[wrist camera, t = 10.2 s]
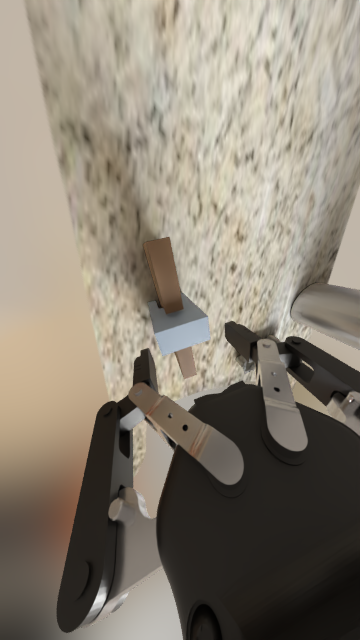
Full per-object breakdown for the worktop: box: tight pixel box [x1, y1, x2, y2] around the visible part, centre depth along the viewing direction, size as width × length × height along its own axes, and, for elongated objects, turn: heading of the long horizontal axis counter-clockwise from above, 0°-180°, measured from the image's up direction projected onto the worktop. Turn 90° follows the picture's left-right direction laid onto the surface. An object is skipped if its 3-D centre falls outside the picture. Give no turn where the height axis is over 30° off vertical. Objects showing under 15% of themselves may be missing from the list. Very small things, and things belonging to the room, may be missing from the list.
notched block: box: [148, 293, 210, 356], centre depth 18 cm, size 6×3×9 cm, turn 101°
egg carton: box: [236, 335, 280, 374], centre depth 32 cm, size 11×8×4 cm
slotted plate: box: [143, 237, 197, 379], centre depth 19 cm, size 2×18×7 cm, turn 11°
